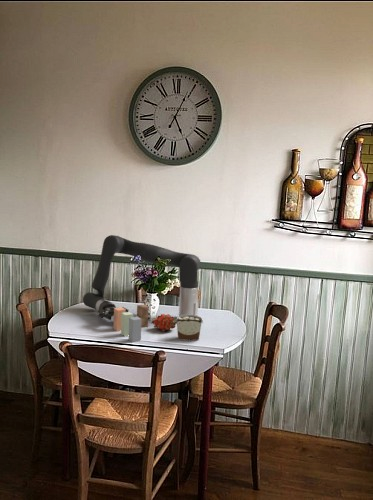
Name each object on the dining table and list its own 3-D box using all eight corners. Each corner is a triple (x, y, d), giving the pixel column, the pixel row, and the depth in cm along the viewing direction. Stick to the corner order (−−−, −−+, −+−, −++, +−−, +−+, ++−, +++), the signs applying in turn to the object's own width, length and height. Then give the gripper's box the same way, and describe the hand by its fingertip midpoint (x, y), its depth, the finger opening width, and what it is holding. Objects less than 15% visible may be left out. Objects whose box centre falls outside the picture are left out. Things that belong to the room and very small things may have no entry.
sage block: (128, 332, 213) (129, 311, 212) (132, 335, 210) (133, 314, 208) (120, 334, 211) (121, 312, 209) (124, 336, 208) (125, 315, 206)
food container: (201, 335, 214) (202, 314, 212) (202, 340, 208) (203, 318, 206) (174, 334, 213) (175, 313, 212) (174, 339, 207) (175, 317, 206)
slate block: (136, 338, 207) (137, 316, 205) (140, 340, 203) (141, 319, 202) (128, 339, 204) (129, 317, 203) (132, 342, 201) (133, 320, 200)
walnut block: (143, 324, 226) (144, 304, 225) (147, 326, 223) (148, 306, 221) (136, 325, 224) (137, 305, 223) (140, 327, 221) (141, 307, 219)
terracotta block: (121, 327, 220) (121, 307, 218) (125, 330, 216) (125, 309, 215) (113, 328, 218) (114, 308, 216) (117, 331, 214) (117, 310, 213)
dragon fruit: (178, 334, 218) (152, 336, 219) (177, 320, 224) (153, 322, 225) (175, 324, 212) (149, 326, 213) (175, 309, 218) (150, 311, 219)
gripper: (92, 302, 225) (105, 310, 212) (118, 299, 233) (133, 307, 220) (91, 317, 227) (104, 326, 213) (118, 313, 234) (132, 322, 221)
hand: (119, 316), depth 216 cm, fingers open, 8 cm apart
